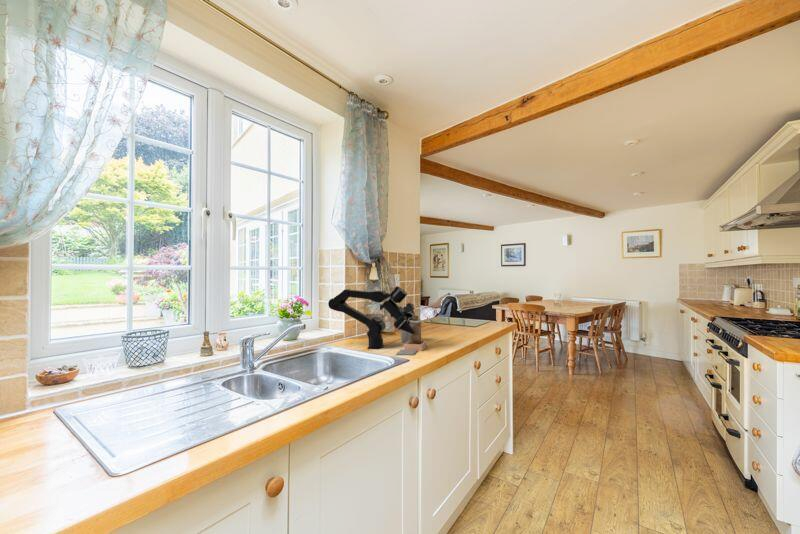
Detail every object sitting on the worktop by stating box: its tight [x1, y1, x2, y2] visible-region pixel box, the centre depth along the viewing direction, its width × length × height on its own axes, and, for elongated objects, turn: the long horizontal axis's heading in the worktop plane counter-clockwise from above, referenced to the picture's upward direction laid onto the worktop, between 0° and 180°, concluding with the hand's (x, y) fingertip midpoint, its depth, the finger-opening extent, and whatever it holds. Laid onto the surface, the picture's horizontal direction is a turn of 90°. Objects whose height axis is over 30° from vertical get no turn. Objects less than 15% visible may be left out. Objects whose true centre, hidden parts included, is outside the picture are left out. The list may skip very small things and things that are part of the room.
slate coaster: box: [396, 349, 418, 356], centre depth 157 cm, size 8×8×1 cm
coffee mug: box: [400, 329, 410, 345], centre depth 184 cm, size 13×10×10 cm
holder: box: [403, 340, 428, 352], centre depth 166 cm, size 9×9×3 cm
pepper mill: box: [409, 315, 422, 344], centre depth 166 cm, size 6×6×16 cm
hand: (416, 331), depth 166 cm, fingers open, 9 cm apart
